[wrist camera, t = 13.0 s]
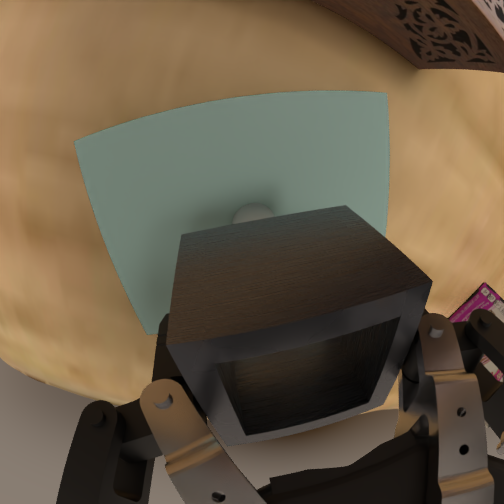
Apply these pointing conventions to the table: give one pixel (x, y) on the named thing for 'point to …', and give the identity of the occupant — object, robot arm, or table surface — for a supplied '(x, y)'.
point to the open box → (292, 321)
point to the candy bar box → (492, 303)
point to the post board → (229, 175)
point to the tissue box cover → (433, 30)
